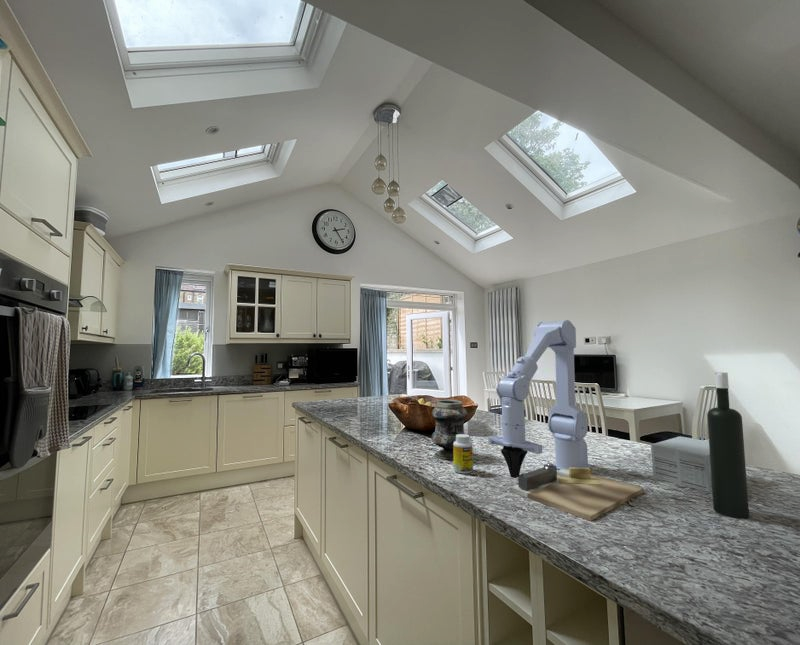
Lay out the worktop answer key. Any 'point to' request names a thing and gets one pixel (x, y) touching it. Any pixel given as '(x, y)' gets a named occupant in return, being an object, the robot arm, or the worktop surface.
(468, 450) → the supplement bottle
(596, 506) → the door board
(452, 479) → the worktop surface
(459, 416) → the dark grey vase
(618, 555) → the worktop surface
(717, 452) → the wine bottle
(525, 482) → the swing bar
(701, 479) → the supplement box
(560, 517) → the worktop surface
